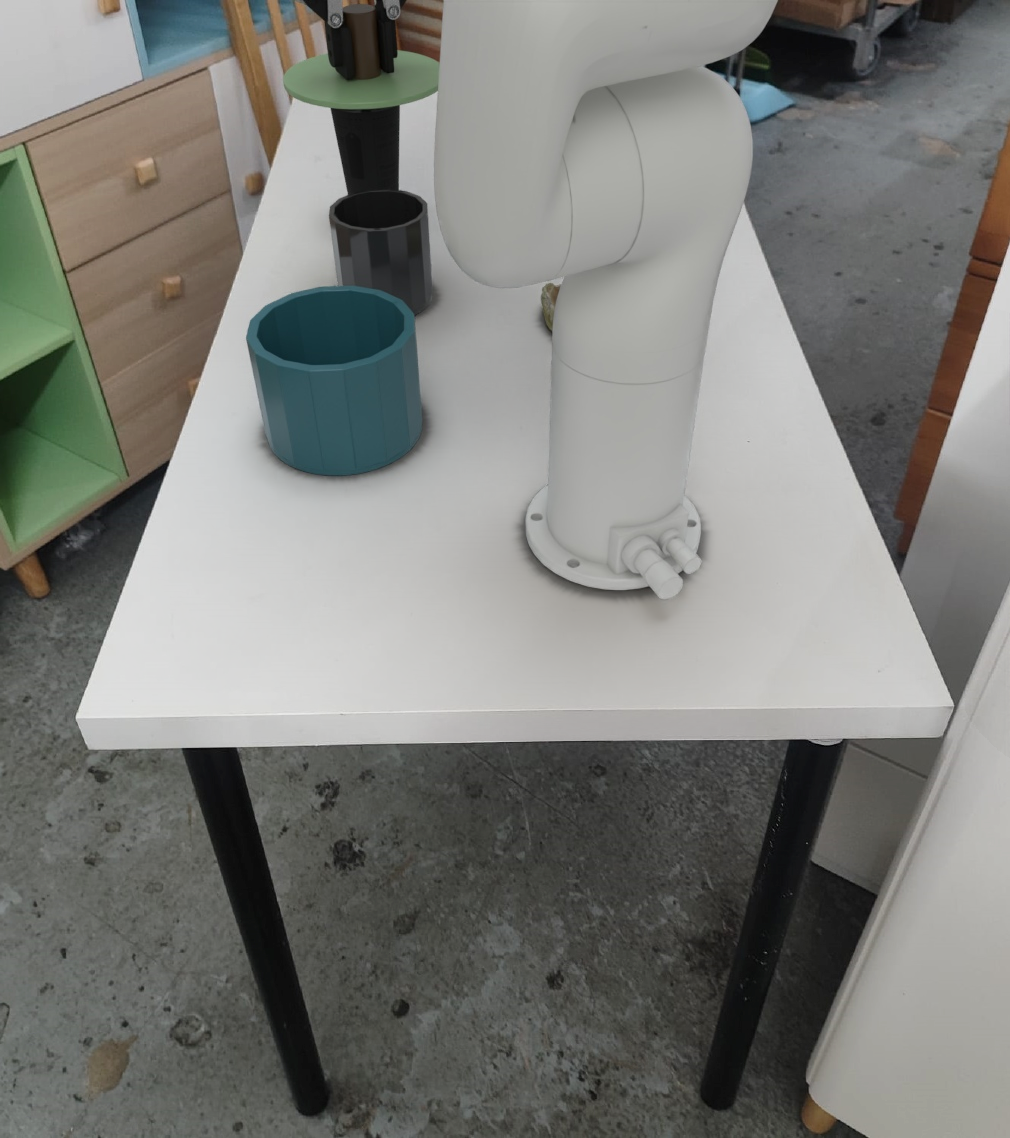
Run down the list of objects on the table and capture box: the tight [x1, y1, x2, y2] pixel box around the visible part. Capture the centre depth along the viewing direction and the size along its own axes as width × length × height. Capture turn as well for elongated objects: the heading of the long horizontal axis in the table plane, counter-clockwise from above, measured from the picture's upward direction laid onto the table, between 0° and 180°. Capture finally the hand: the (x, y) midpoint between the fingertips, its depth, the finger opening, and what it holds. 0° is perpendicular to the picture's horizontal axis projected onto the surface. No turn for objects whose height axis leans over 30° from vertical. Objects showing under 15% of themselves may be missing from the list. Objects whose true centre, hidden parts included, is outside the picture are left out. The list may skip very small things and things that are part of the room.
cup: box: [328, 189, 434, 316], centre depth 97 cm, size 9×9×9 cm
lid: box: [282, 3, 440, 109], centre depth 85 cm, size 14×14×6 cm
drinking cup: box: [329, 105, 401, 195], centre depth 105 cm, size 8×8×20 cm
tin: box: [245, 285, 423, 477], centre depth 81 cm, size 13×13×10 cm
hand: (364, 69), depth 86 cm, fingers closed on lid, 2 cm apart
